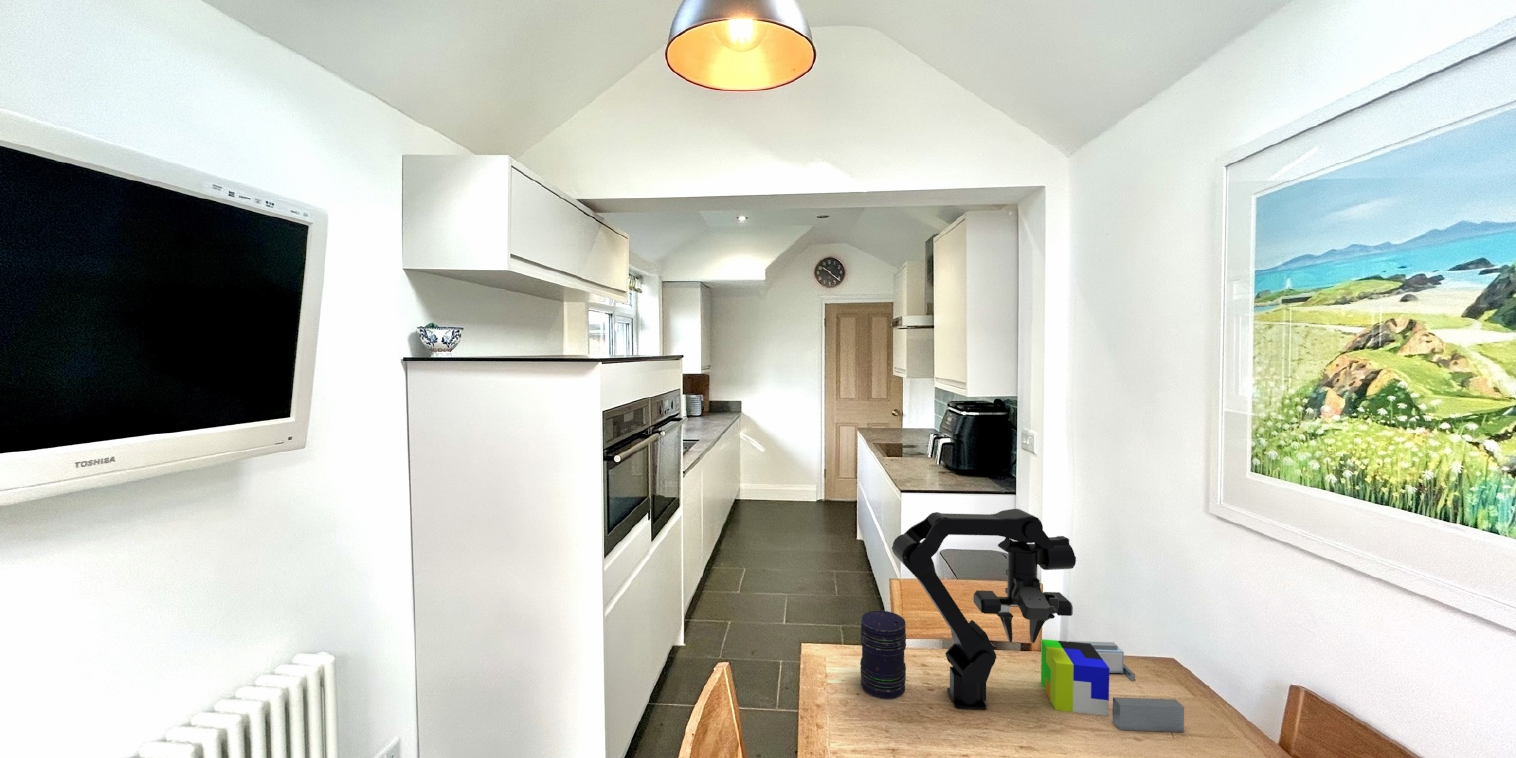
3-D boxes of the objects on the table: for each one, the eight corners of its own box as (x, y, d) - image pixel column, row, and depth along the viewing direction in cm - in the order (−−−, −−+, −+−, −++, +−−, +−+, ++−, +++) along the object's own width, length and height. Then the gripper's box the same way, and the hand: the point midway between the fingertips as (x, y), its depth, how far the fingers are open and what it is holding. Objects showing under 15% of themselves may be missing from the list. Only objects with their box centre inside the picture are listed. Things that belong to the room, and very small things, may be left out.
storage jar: (856, 694, 121) (856, 626, 121) (864, 670, 131) (864, 607, 130) (903, 704, 118) (903, 634, 117) (908, 678, 127) (908, 614, 126)
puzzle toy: (1108, 716, 114) (1109, 668, 113) (1055, 710, 116) (1056, 663, 115) (1089, 687, 123) (1090, 643, 123) (1040, 682, 125) (1041, 639, 125)
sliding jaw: (1069, 671, 129) (1070, 646, 129) (1064, 665, 132) (1064, 640, 132) (1123, 673, 128) (1124, 647, 128) (1117, 667, 131) (1117, 641, 131)
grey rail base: (1113, 729, 109) (1114, 704, 109) (1054, 660, 134) (1054, 640, 134) (1189, 732, 108) (1190, 707, 108) (1115, 662, 133) (1116, 642, 133)
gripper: (990, 584, 112) (989, 660, 112) (1087, 586, 111) (1085, 663, 111) (973, 563, 123) (972, 633, 124) (1060, 565, 122) (1059, 635, 122)
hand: (1021, 641), depth 120 cm, fingers open, 4 cm apart
